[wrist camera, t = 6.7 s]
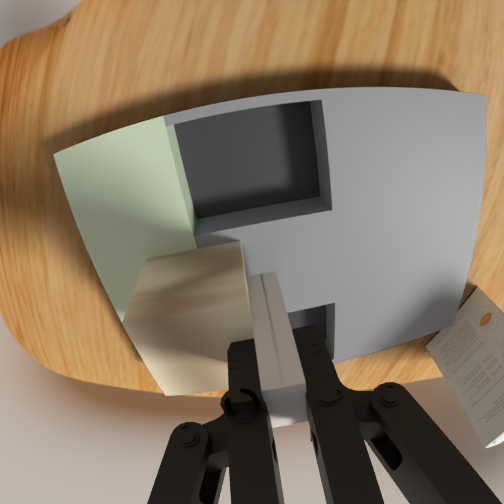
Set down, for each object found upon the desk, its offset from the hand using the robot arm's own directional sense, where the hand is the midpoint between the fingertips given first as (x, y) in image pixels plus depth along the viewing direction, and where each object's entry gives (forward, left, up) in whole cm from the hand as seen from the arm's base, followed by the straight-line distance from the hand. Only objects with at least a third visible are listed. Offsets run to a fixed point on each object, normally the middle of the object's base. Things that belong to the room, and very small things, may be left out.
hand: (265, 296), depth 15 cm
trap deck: (-3, 0, -4) cm, 5 cm away
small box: (-20, +13, -4) cm, 24 cm away
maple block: (+3, 0, -2) cm, 4 cm away
